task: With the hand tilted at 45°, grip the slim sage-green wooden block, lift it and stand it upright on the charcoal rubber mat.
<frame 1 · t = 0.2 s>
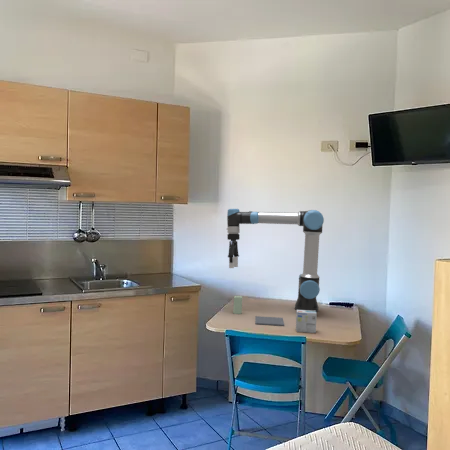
hand: (233, 267, 291), 27 cm above the table, tool pointing down, fingers open, 13 cm apart
sage block: (237, 312, 285), on the table
mat: (269, 321, 267), on the table
light bulb box: (305, 331, 251), on the table
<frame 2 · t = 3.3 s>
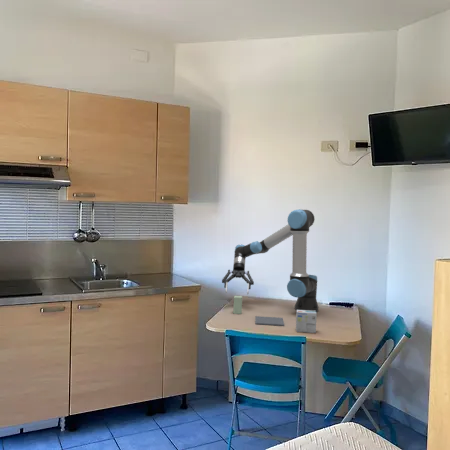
hand: (236, 292, 292), 11 cm above the table, tool tilted 45°, fingers open, 13 cm apart
nothing on the table moved.
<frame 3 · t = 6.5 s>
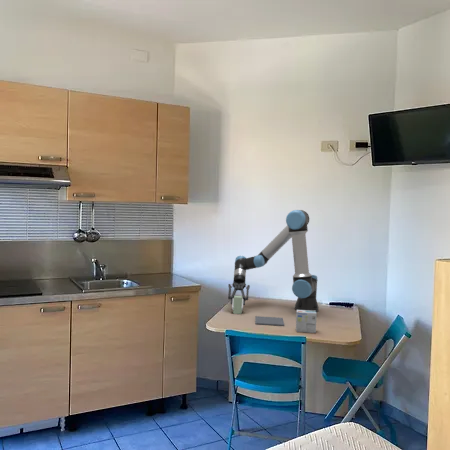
hand: (237, 308, 282), 3 cm above the table, tool tilted 45°, fingers closed on sage block, 5 cm apart
sage block: (237, 312, 285), on the table, touching gripper
everything else where it was.
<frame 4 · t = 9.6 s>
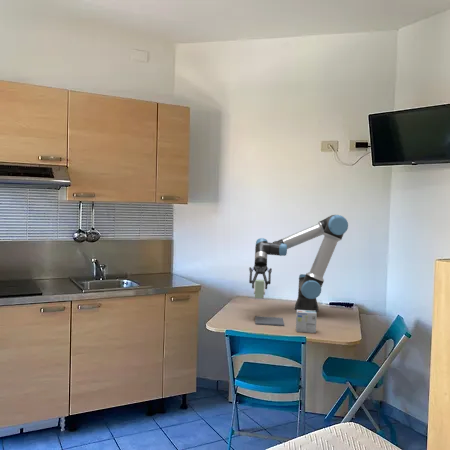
hand: (259, 293, 267), 16 cm above the table, tool tilted 45°, fingers closed on sage block, 5 cm apart
sage block: (259, 297, 271), point 13 cm above the table, touching gripper
everything else where it was.
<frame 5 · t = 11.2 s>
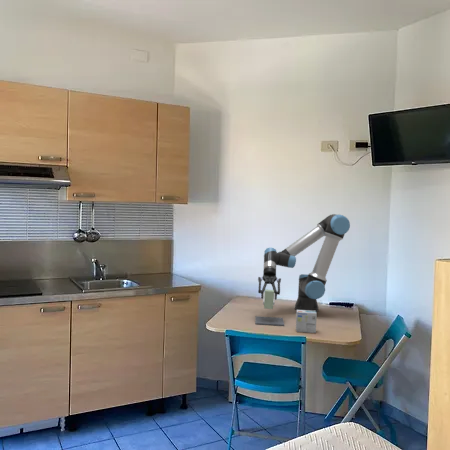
hand: (268, 303, 263), 11 cm above the table, tool tilted 45°, fingers closed on sage block, 5 cm apart
sage block: (268, 307, 266), point 8 cm above the table, touching gripper
everything else where it was.
when the fingers open (5 cm above the table, at t = 12.5 s): sage block drops 1 cm, resting on mat.
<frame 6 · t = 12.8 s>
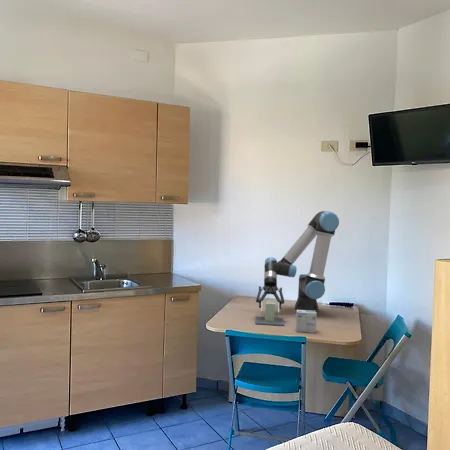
hand: (269, 312, 264), 6 cm above the table, tool tilted 45°, fingers open, 9 cm apart
sage block: (269, 320, 267), point 1 cm above the table, touching mat
everything else where it was.
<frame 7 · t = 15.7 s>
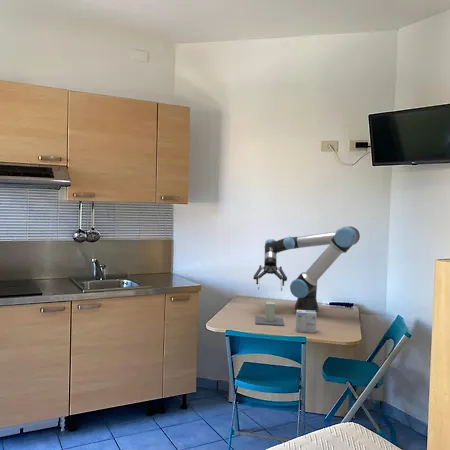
hand: (270, 289, 277), 17 cm above the table, tool tilted 45°, fingers open, 13 cm apart
nothing on the table moved.
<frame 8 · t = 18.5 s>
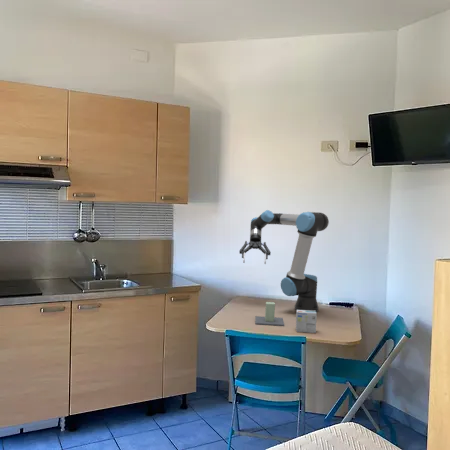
hand: (254, 262, 299), 30 cm above the table, tool tilted 45°, fingers open, 13 cm apart
nothing on the table moved.
at the end: sage block inside the target area on the mat (0.1 cm from its centre), point 0.8 cm above the mat's base; sage block tilted 0°; the gripper is holding nothing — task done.
